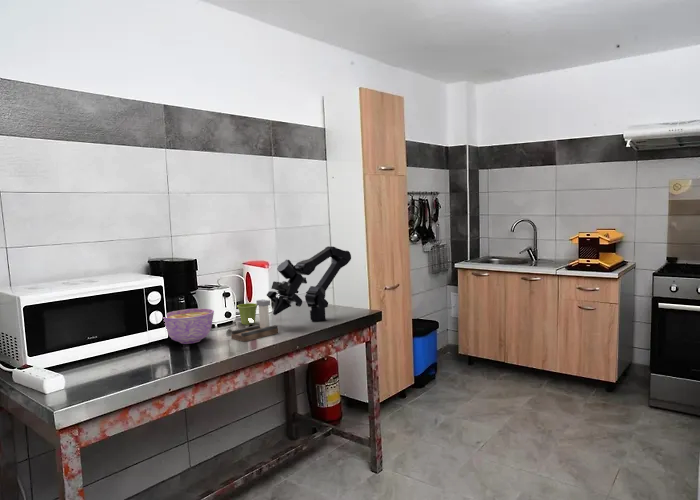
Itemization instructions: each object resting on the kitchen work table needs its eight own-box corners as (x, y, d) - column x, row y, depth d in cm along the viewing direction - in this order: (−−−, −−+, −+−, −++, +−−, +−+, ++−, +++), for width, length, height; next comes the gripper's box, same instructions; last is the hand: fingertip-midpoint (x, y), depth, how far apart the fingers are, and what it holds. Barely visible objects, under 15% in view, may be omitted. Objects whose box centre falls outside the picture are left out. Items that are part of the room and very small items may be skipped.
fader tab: (264, 326, 216) (262, 299, 215) (271, 328, 212) (270, 300, 212) (258, 327, 214) (256, 300, 213) (265, 329, 210) (263, 301, 209)
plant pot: (261, 321, 239) (260, 302, 238) (255, 325, 230) (254, 306, 229) (241, 321, 240) (240, 303, 239) (235, 326, 231) (234, 307, 230)
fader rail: (265, 330, 219) (264, 323, 219) (278, 333, 213) (277, 325, 212) (231, 338, 207) (231, 330, 206) (244, 341, 200) (243, 333, 200)
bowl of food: (165, 338, 212) (163, 311, 211) (214, 333, 218) (212, 306, 217) (162, 350, 193) (160, 320, 192) (217, 344, 199) (215, 315, 198)
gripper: (268, 273, 226) (249, 301, 218) (295, 275, 213) (276, 305, 205) (283, 288, 232) (265, 316, 225) (310, 291, 219) (292, 321, 212)
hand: (274, 314), depth 216 cm, fingers closed
